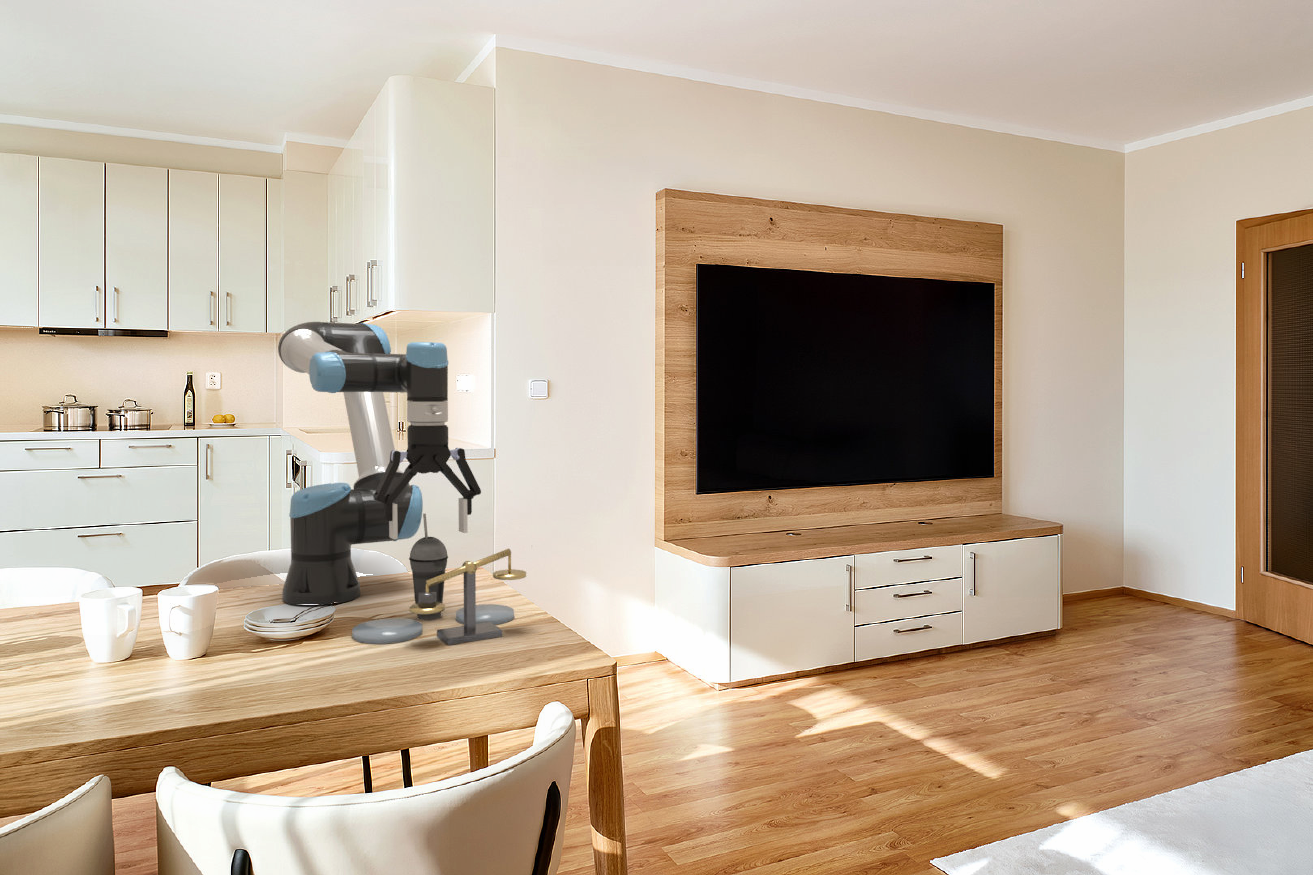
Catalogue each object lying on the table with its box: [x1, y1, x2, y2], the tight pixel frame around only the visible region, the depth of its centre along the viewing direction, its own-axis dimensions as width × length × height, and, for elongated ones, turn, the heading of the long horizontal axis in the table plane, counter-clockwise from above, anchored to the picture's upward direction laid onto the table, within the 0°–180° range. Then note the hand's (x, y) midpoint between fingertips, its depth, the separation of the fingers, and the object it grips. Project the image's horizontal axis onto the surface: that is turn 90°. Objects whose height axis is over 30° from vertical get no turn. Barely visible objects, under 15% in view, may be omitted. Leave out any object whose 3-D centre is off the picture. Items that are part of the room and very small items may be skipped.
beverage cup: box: [408, 513, 449, 621], centre depth 169 cm, size 7×7×20 cm
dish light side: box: [455, 603, 515, 626], centre depth 170 cm, size 11×11×1 cm
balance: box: [409, 548, 527, 646], centre depth 157 cm, size 6×21×15 cm, turn 123°
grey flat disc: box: [351, 617, 423, 645], centre depth 159 cm, size 12×12×1 cm
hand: (429, 535), depth 169 cm, fingers open, 13 cm apart
